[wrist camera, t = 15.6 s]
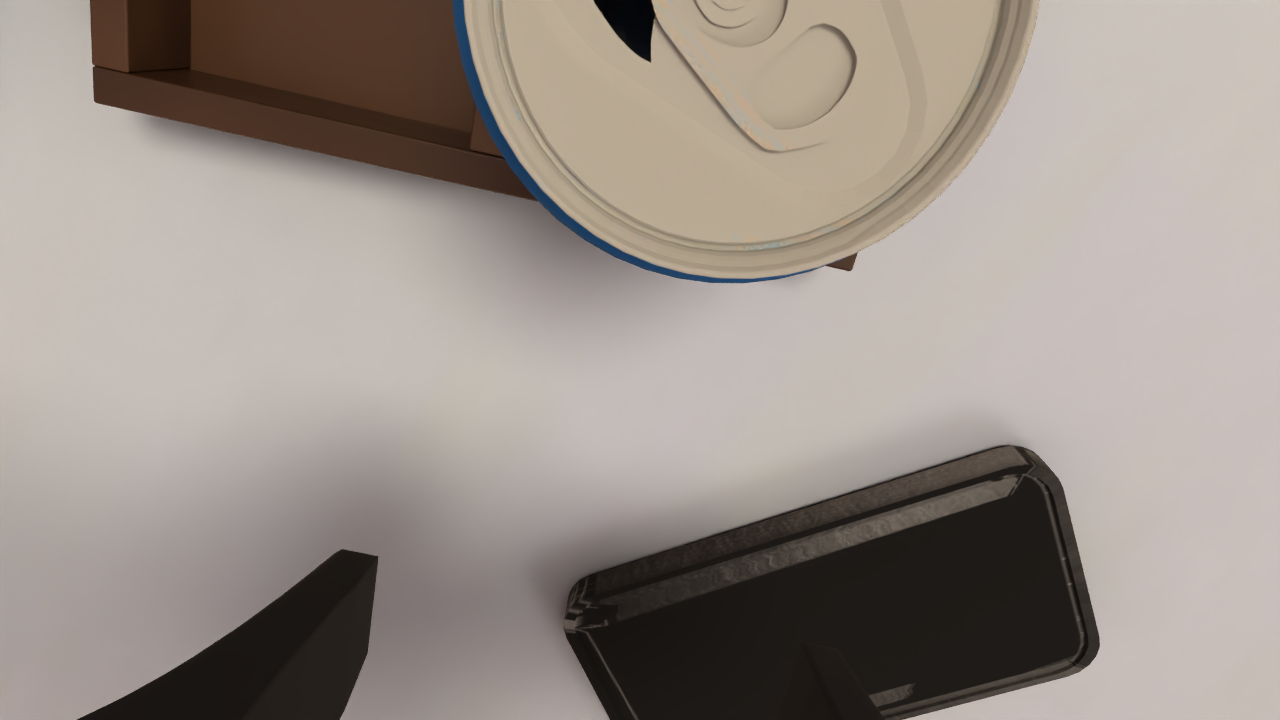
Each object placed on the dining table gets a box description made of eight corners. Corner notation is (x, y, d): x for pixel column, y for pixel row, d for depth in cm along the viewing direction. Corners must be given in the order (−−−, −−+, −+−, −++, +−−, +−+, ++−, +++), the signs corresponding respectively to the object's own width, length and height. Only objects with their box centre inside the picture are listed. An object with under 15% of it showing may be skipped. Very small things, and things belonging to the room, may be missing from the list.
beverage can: (723, -214, 17) (817, -654, 6) (900, 32, 19) (1221, 34, 8) (508, 5, 19) (280, -32, 8) (687, 213, 21) (703, 423, 10)
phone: (551, 609, 25) (1055, 454, 22) (556, 585, 26) (1037, 435, 23) (647, 789, 27) (1107, 669, 25) (648, 761, 28) (1090, 644, 26)
